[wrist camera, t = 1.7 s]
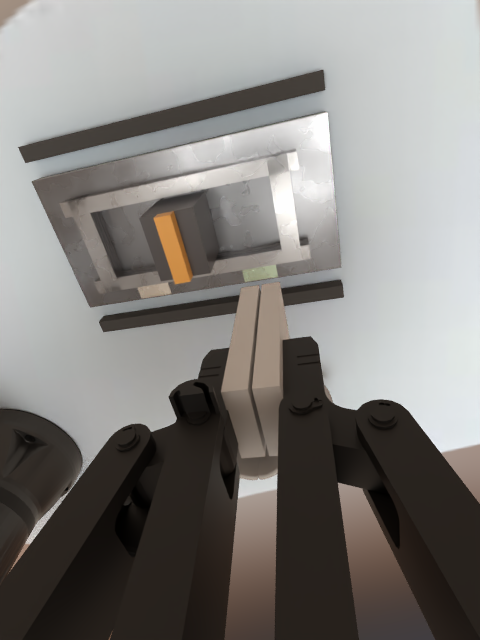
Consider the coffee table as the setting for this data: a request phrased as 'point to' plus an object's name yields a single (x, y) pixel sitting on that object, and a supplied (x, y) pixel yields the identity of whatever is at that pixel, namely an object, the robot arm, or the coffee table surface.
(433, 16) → the coffee table surface
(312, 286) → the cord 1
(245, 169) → the breaker panel
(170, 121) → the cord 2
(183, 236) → the breaker toggle
